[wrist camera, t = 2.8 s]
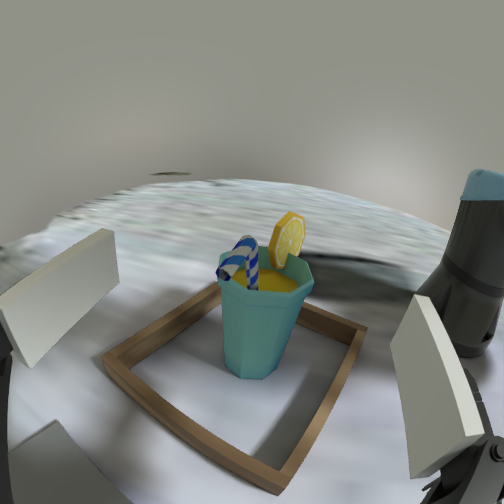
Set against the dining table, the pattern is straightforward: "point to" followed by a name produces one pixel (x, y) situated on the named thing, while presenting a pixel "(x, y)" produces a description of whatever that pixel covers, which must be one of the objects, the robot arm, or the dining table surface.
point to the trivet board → (58, 473)
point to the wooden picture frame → (195, 434)
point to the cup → (262, 297)
